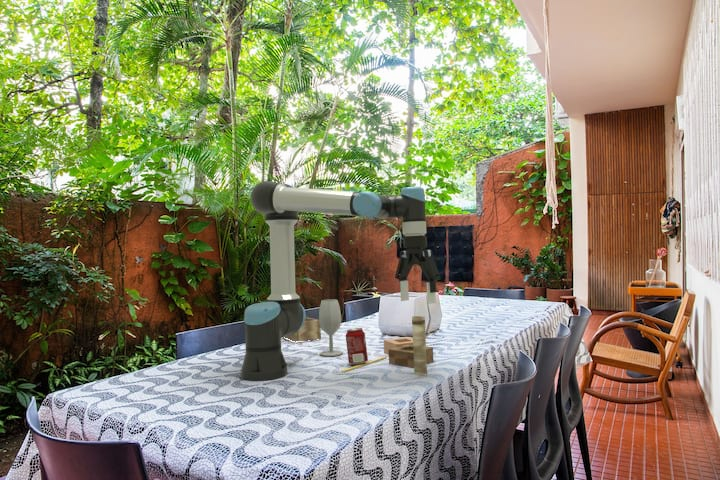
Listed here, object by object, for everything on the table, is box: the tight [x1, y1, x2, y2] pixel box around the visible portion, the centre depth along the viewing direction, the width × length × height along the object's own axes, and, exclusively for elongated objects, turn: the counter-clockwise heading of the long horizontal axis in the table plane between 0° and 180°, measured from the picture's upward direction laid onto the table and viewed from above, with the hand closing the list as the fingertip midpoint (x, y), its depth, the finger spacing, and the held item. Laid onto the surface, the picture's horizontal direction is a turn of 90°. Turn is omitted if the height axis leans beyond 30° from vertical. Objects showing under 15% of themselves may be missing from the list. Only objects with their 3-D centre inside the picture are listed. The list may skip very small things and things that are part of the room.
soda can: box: [345, 327, 369, 366], centre depth 176 cm, size 7×7×12 cm
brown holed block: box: [388, 344, 434, 369], centre depth 175 cm, size 11×11×5 cm
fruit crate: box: [282, 316, 322, 342], centre depth 230 cm, size 13×14×9 cm
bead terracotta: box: [383, 336, 413, 356], centre depth 191 cm, size 11×11×5 cm
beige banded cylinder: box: [411, 315, 428, 376], centre depth 160 cm, size 4×4×18 cm
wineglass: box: [318, 299, 344, 357], centre depth 195 cm, size 9×9×21 cm
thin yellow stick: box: [340, 356, 387, 373], centre depth 175 cm, size 24×1×1 cm, turn 142°
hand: (417, 302), depth 160 cm, fingers open, 13 cm apart
